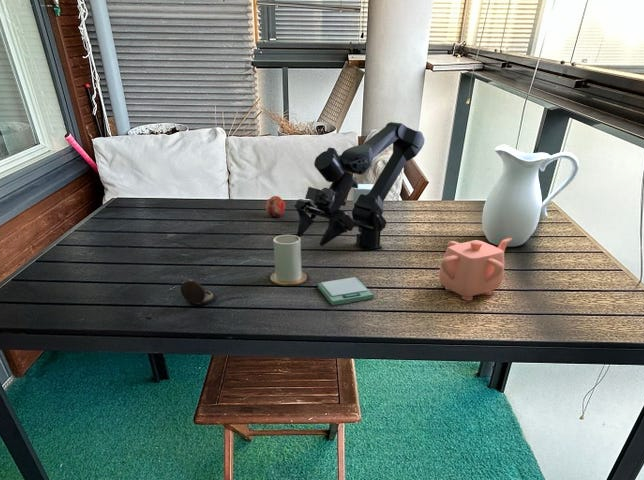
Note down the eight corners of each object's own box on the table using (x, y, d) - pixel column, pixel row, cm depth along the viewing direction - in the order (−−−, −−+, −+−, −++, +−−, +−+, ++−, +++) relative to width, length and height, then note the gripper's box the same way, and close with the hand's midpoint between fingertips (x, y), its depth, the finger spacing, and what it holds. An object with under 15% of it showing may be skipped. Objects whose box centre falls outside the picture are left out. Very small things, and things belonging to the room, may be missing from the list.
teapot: (435, 300, 121) (442, 250, 114) (439, 275, 134) (446, 228, 127) (505, 307, 118) (517, 256, 110) (502, 281, 130) (513, 233, 123)
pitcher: (474, 246, 152) (491, 151, 137) (481, 229, 165) (497, 141, 150) (556, 256, 145) (584, 157, 129) (556, 238, 158) (582, 146, 142)
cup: (304, 272, 135) (303, 235, 129) (298, 282, 129) (297, 244, 123) (279, 270, 136) (277, 233, 130) (272, 280, 130) (270, 243, 124)
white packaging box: (372, 226, 169) (375, 189, 162) (351, 225, 170) (353, 188, 163) (375, 220, 175) (377, 184, 168) (354, 219, 176) (356, 183, 169)
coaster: (300, 268, 138) (300, 267, 138) (311, 282, 130) (311, 280, 130) (266, 273, 136) (266, 272, 135) (275, 288, 128) (275, 286, 127)
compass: (218, 295, 124) (215, 269, 120) (205, 309, 118) (201, 282, 114) (189, 292, 126) (185, 266, 122) (175, 306, 119) (170, 279, 115)
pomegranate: (271, 218, 184) (256, 207, 176) (279, 200, 184) (265, 188, 175) (285, 224, 181) (271, 213, 172) (294, 206, 180) (280, 194, 172)
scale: (356, 281, 131) (356, 276, 130) (373, 298, 122) (373, 292, 121) (317, 287, 128) (317, 282, 127) (332, 305, 119) (332, 299, 118)
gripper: (298, 168, 132) (269, 218, 132) (348, 180, 121) (317, 234, 121) (318, 192, 141) (292, 238, 141) (367, 205, 130) (338, 255, 130)
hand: (308, 241), depth 133 cm, fingers open, 9 cm apart
